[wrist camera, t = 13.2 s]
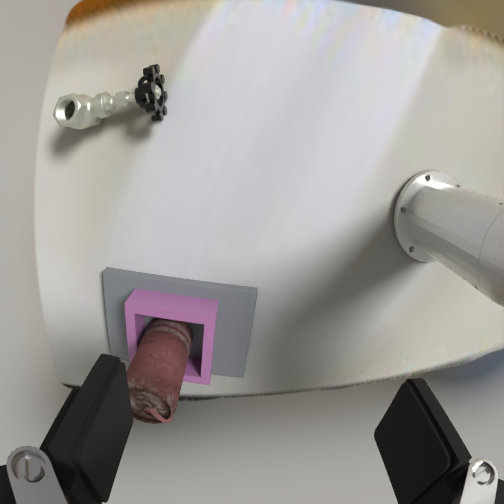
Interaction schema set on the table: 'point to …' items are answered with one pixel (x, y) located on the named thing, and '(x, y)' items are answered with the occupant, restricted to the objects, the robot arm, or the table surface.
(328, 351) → the table surface
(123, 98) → the valve
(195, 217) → the table surface
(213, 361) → the cup holder
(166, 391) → the can
